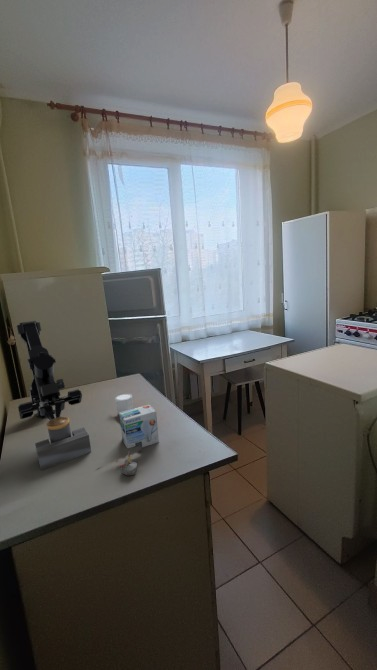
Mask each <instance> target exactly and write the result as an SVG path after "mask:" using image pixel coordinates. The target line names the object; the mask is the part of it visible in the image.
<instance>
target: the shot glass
mask: <svg viewBox="0 0 377 670" xmlns="http://www.w3.org/2000/svg"><path fill="white" fill-rule="evenodd" d="M114 401H115V405H116V410H117V413H118V416H119V417H120V414H119V413H120V412H124V411H127V410H131V409H134V408H133V407H134V406H133V405H134V403H133V395H132V394H131V393H123V394H119V395H117V396H115V397H114Z"/></svg>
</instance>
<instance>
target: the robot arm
mask: <svg viewBox="0 0 377 670" xmlns="http://www.w3.org/2000/svg"><path fill="white" fill-rule="evenodd" d="M16 331H17V335H19V336H20V339H21V341H22V342H24V344H25V345H26V349H27V354H28V358H27V366H28V369H29V370H30V371H31V374H32V381H31V383H30V384H31V385H30V389H29V397H30V401H28V402H24V403H20V404H19V405H18V406H17V409H18V416H19V419H20V420H25V419H28V418H31V417H32V416H34V417H38V418H41V419H45V418H46V419H48V421H50V420H52V419H54V418H58V417H61V415H62V411H64V410H65V408H66V406H65V405H66V404H65V403H68V405H70V406H75V405H78V404H81V402H82V400H83V399H82V398H83V397H82V396H83V394H82V391H81V390H80V389H74V390H69V391H67V395H65V396H62V397H60V396H61V392H60V390H64V389H66V387H65V382H64V379H63V378H59V379H56V380H55V376H54V374H55V373H54V372H55V368H54V367H55V363H56V358H54V357H53V355H52V354H50V353H49V350H48V349H47V348H46V347H44V346H43V344H42V340H41V337H40V332H42V326H41V322H37V321H36V320H32V321H31V320H30V321H24V322H19V323H18V324H17V325H16ZM34 412H36V413H34Z"/></svg>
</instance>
